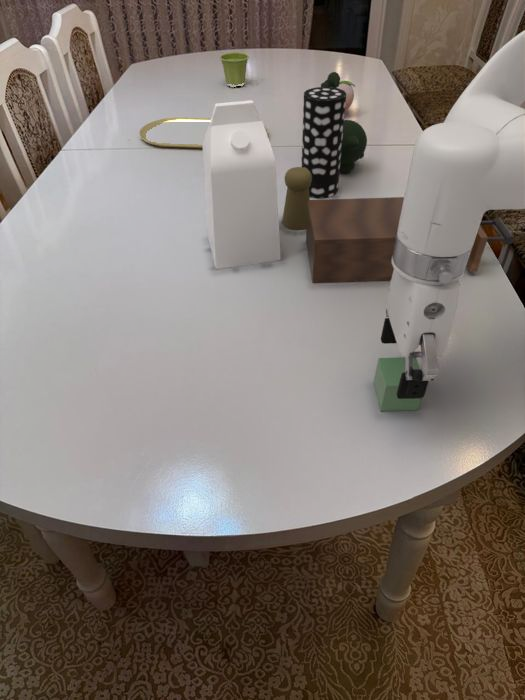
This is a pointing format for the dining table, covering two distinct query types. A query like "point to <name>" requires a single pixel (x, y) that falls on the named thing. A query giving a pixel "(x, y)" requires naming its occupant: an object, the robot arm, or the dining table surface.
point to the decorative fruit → (347, 92)
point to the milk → (240, 187)
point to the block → (392, 385)
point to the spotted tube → (323, 138)
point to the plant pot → (234, 67)
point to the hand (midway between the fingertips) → (400, 367)
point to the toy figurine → (348, 134)
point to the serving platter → (168, 120)
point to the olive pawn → (296, 198)
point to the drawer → (482, 239)
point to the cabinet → (352, 238)
